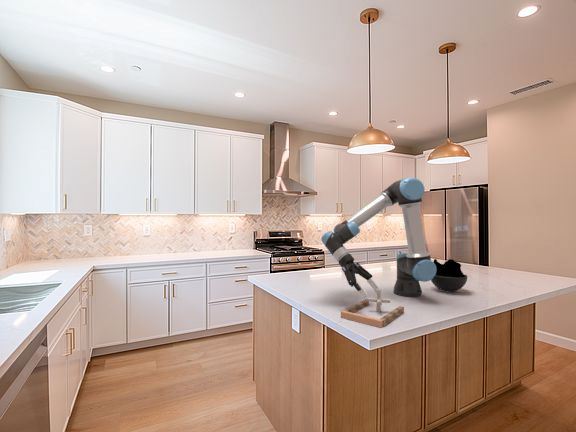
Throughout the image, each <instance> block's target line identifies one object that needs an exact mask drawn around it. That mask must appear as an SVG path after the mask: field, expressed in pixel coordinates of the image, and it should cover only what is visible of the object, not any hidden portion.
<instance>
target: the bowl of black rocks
mask: <svg viewBox="0 0 576 432" xmlns="http://www.w3.org/2000/svg"><path fill="white" fill-rule="evenodd" d="M432 262H433V263H434V264H435V265H436V269H437V270H436V274H435V276H434V277H433V279H431V280H430V281H431V282H432V284H433V285H434V286H435V287H436V288H437V289H439V290H440V291H443V292H447V291H448V292H451V293H452V292H457V291H459V290H460V289H462V288H463V287H464V286H465V285H466V284H467V281H468V275H467V274H464V273H463V271H462V268H461V267H462V264H461V263H460V262H458V261H455V260H454V259H447V260H446V261H444V263H440V261H438V260H437V259H436V258H434V260H433V261H432Z"/></svg>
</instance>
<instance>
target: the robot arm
mask: <svg viewBox="0 0 576 432" xmlns="http://www.w3.org/2000/svg"><path fill="white" fill-rule="evenodd" d="M424 195H425V185H424V183H423V182H422V181H421V180H420V179H418V178H417V177H406V178H402V179H399V180H396V181H395V182H393V183H392V184H390V185H388V187H386V188H385V189H384V190H383V191H381V192H380V193H379V196H378V197H376V198H373V200H371V201H369V203H368V204H366V205H365V206H363V207H362V208H360V209H359V210H358V211H356V212H355V213H353V214H352V215H350V216H349V217H348V218H347V219H345V220H344V221H342V222H341V223H338V224H336V225H334V228H333V231H332V230H329V231H327V232H325V233H324V234H323V235H322V236H321V238H320V240H321V242H322V244H323V245H324V247H325V248H326V249H327V250H328V251H329V253H330V254H331V256H333V258H334V260H335V261H336V262H337V263H338V265H340V267H341V271H342V272H343V274H344V275H345V278H346V280H347V283H348V285H349V286H350V287H351V288H352V287H353V288H355V289H356V291H357V293H359V295H360V296H361V297H362V299H364V298H365V297H366V296H367V295H368V292H367V291H366V290H365V289H364V287H363V286H362V285H361V284H360V283H359V282H357V281H358V280H357V277H356V275H359V276H360V277H361V278H363V279H364V280H366V283H368V284H369V286H370V287H371V288H372V289H373V291H374V292H375V293H377V289H380V290H381V288H380V287H379V285H378V284H377V283H376V282H375V280H374V279H373V275H372V274H371V273H370V272H369V271H368V270H366V269H365V267H363V266H362V265H361V264H360V263H359V262H356V263H355V262H354V261H355V258H354V257H353V254H351V253H350V252H349V250H348V249H347V248H346V247H345V244H346V243H348V242H349V241H350V240H352V239H353V238H355V237H357V236H358V234H360V232H361V229H360V227H361V226H363V224H365V223H367V222H368V221H369V220H371V219H372V218H374V217H375V216H377V215H378V214H379V213H381V212H382V211H383V210H384V209H387V208H388V207H392V206H394V205H395V204H397V205H398V207H400V208H401V209H402V215H403V222H404V229H405V236H406V243H407V249H408V253H398V254H397V255H396V280H395V284H394V286H393V293H394V294H396V295H398V296H401V297H402V296H403V297H409V298H411V297H412V298H414V297H415V298H417V297H421V296H422V295H423V289H422V287H421V284H420V282H422V283H425V282H429V281H431V279H433V277H434V276H435V274H436V270H437V269H436V265H435V264H434V263H433V262H434V261H432V259H431V257H432V256H431V253H429V251H427V248H426V241H425V234H424V226H423V220H422V214H421V213H422V212H421V207H420V206H421V204H422V203H423V198H422V197H423V196H424Z"/></svg>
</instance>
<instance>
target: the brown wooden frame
mask: <svg viewBox="0 0 576 432" xmlns="http://www.w3.org/2000/svg"><path fill="white" fill-rule="evenodd" d="M369 306H370V302H368V301H367V299H363V300H360V301H358V302H357V303H355V304H353V305H351V306H348V307H346V308H344V309H343V310H341V311H347V312H351V313H355V314H356V312H359V311H361V310H362V309H364V308H366V307H369ZM404 313H405V307H404V306H401V305H399V306H398V307H395V309H393V310H391V311H390V312H388V313H387V314H385V315H384V316H382V317H380V318H379V319H381V320H383V327H386V326H388V325H389V324H390V323H391V322H393V321H395V319H397V318H398V317H400V316H401V315H403V314H404Z"/></svg>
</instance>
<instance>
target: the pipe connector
mask: <svg viewBox="0 0 576 432" xmlns="http://www.w3.org/2000/svg"><path fill="white" fill-rule="evenodd" d="M381 292H382V291H381V288H380V289H377V292H376V295H375V297H367V299H366V300H367V301H368V302H369V303H376V312H378V313H381V311H382V310H381V309H382V305H383V303H384V304H391V299H390V298H382V296H381V294H382V293H381Z"/></svg>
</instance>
